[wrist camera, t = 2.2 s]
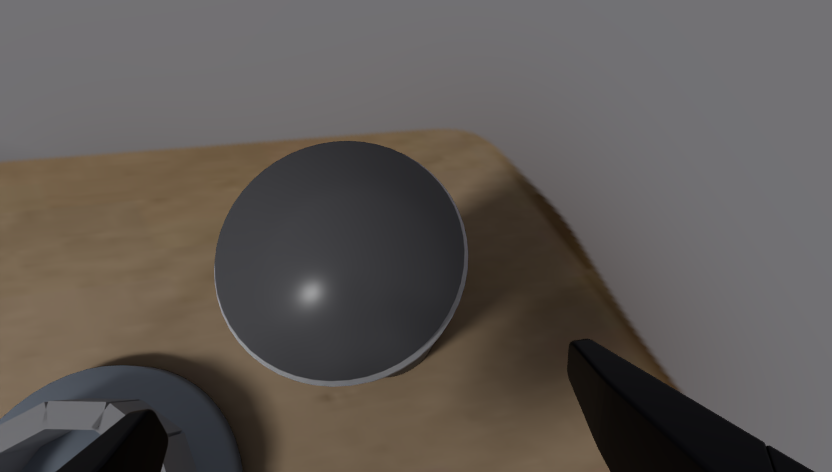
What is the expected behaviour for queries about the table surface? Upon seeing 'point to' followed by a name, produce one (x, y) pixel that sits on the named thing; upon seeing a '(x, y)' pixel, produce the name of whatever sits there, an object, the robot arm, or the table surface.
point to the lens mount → (116, 420)
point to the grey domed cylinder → (341, 264)
